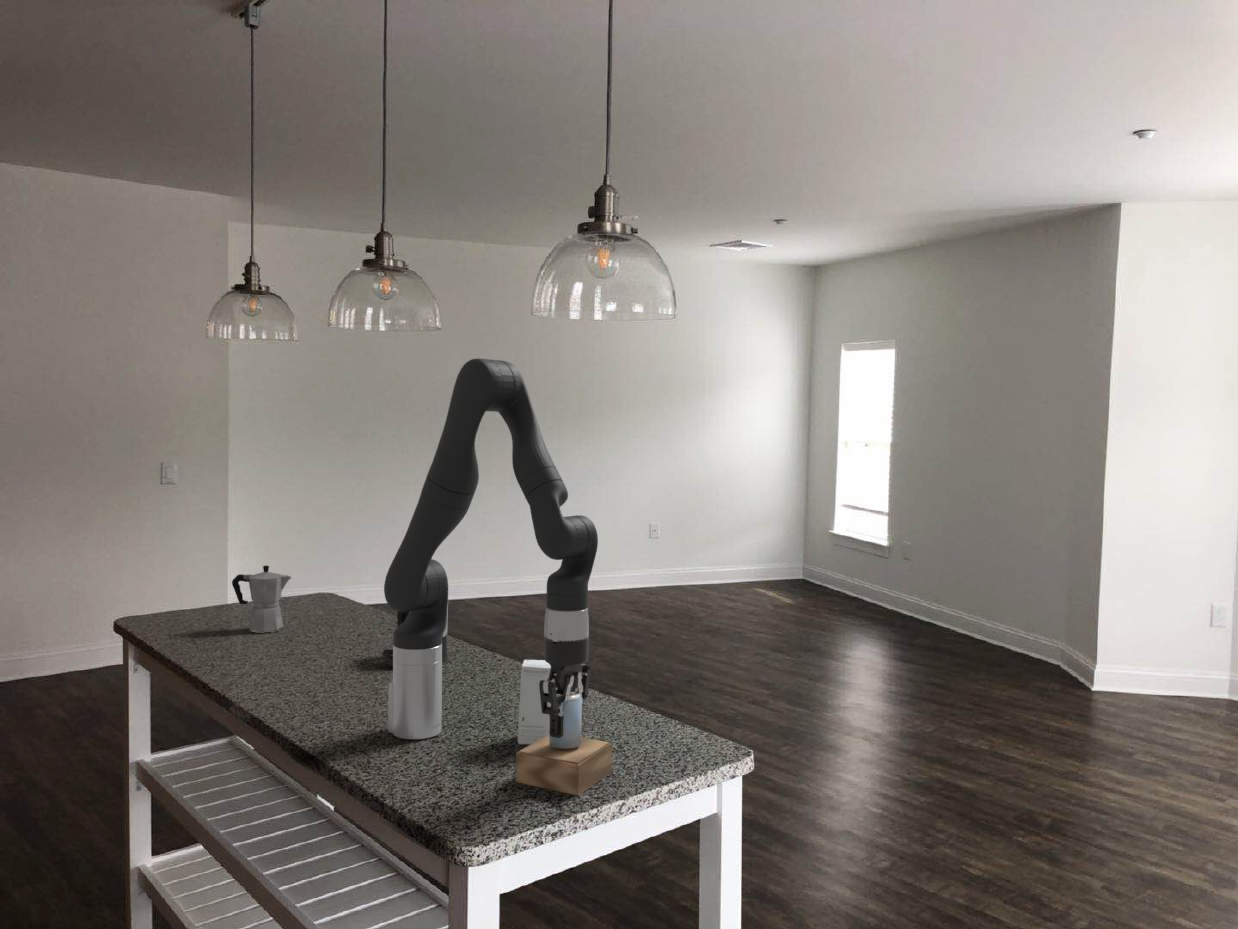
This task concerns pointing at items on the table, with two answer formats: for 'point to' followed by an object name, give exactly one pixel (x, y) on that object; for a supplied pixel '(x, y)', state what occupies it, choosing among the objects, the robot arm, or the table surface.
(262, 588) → the coffeepot
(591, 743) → the cardboard box
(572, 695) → the canister
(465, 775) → the table surface
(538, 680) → the skincare box
